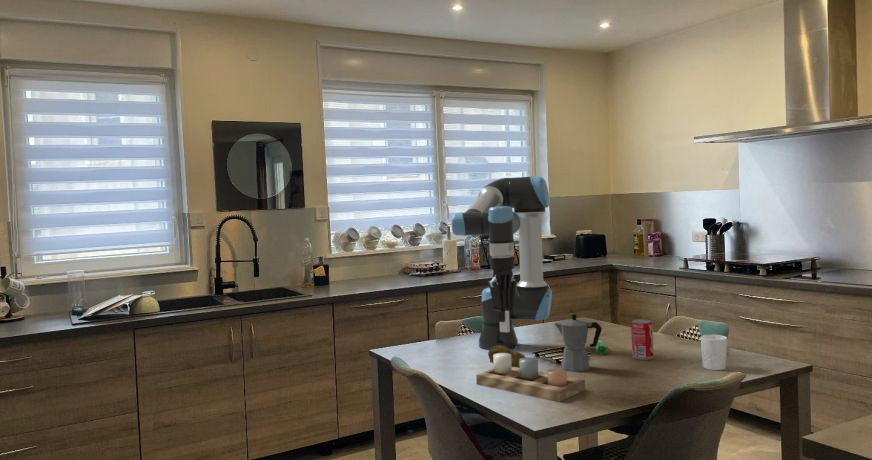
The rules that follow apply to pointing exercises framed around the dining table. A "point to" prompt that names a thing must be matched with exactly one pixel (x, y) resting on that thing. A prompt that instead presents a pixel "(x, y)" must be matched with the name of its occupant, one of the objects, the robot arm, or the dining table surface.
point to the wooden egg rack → (530, 384)
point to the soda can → (642, 339)
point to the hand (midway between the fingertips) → (504, 331)
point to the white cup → (714, 351)
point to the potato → (502, 349)
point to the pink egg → (557, 377)
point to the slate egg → (528, 367)
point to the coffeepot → (576, 343)
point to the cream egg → (502, 363)
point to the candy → (601, 347)
